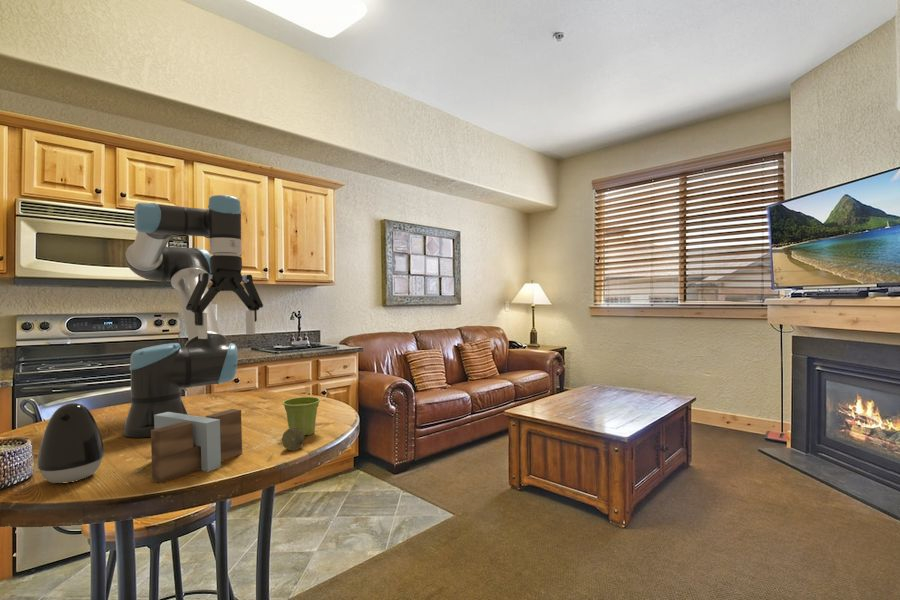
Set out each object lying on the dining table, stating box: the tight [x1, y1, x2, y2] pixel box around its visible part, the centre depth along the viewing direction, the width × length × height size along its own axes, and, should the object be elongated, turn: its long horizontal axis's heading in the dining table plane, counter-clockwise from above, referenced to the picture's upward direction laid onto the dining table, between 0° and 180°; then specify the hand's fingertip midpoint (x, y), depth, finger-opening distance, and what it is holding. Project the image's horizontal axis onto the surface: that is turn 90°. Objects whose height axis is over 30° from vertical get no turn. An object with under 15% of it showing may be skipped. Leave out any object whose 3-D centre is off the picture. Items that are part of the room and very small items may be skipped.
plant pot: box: [282, 396, 321, 436], centre depth 116 cm, size 9×9×9 cm
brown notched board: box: [150, 408, 243, 484], centre depth 95 cm, size 3×18×10 cm, turn 153°
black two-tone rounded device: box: [37, 402, 105, 484], centre depth 89 cm, size 10×10×15 cm
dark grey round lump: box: [281, 427, 306, 452], centre depth 104 cm, size 4×5×5 cm
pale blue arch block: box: [154, 412, 222, 473], centre depth 97 cm, size 18×3×10 cm, turn 63°
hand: (227, 336), depth 117 cm, fingers open, 13 cm apart
